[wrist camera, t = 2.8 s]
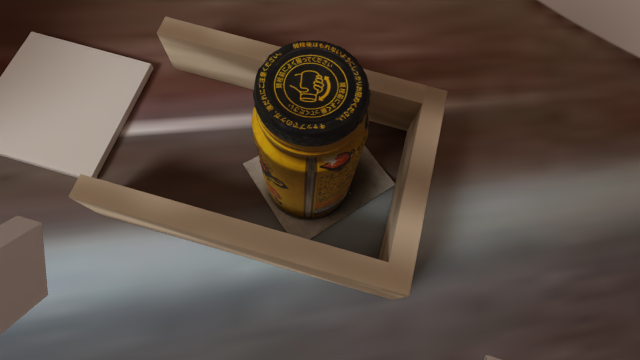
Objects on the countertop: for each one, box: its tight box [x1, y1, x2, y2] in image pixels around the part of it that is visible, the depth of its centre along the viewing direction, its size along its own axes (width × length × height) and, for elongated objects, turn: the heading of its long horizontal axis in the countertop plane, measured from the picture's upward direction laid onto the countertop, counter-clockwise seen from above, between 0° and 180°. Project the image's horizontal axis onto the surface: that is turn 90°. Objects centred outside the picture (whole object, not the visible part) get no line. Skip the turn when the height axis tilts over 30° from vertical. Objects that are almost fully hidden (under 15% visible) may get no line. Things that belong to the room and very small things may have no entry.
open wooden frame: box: [68, 17, 448, 300], centre depth 27 cm, size 14×20×4 cm
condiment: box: [243, 41, 395, 240], centre depth 23 cm, size 7×8×12 cm
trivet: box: [0, 32, 154, 178], centre depth 29 cm, size 10×10×1 cm
